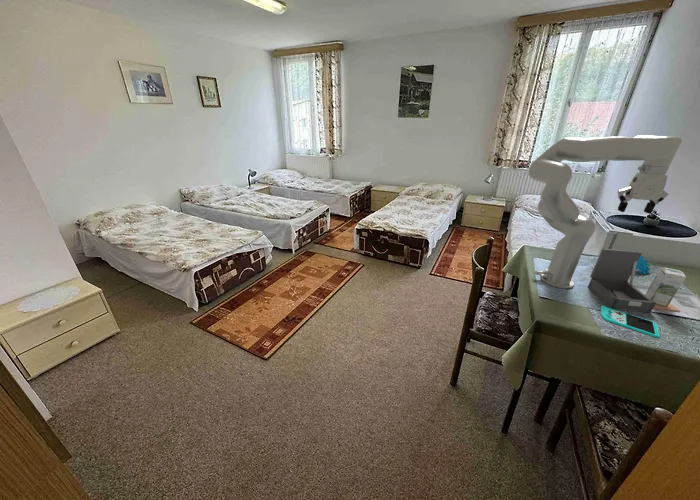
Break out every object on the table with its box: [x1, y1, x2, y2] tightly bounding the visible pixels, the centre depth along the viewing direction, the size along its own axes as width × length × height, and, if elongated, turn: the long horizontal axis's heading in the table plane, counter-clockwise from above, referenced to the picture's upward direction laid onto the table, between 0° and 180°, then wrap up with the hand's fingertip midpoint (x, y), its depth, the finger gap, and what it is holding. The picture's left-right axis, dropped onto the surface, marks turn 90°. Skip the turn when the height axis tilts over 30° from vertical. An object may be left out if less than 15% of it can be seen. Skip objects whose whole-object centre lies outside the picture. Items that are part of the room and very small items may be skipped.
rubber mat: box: [652, 302, 681, 313], centre depth 117 cm, size 10×10×1 cm
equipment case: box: [587, 248, 656, 314], centre depth 116 cm, size 14×18×18 cm
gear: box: [635, 255, 652, 275], centre depth 142 cm, size 11×6×10 cm
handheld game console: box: [600, 305, 660, 339], centre depth 106 cm, size 10×16×1 cm, turn 50°
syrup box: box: [644, 266, 687, 307], centre depth 114 cm, size 6×6×14 cm
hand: (633, 211), depth 119 cm, fingers open, 9 cm apart
